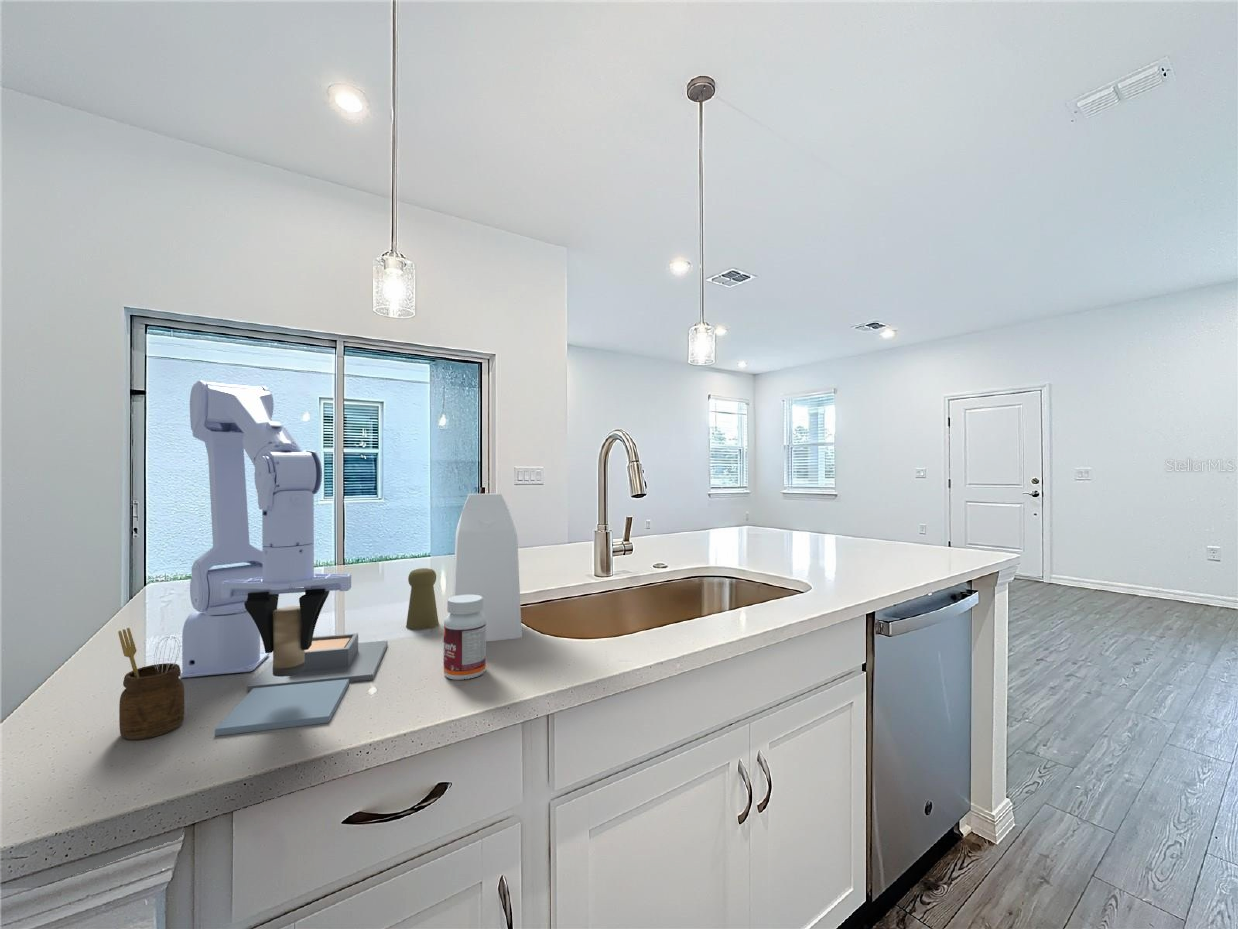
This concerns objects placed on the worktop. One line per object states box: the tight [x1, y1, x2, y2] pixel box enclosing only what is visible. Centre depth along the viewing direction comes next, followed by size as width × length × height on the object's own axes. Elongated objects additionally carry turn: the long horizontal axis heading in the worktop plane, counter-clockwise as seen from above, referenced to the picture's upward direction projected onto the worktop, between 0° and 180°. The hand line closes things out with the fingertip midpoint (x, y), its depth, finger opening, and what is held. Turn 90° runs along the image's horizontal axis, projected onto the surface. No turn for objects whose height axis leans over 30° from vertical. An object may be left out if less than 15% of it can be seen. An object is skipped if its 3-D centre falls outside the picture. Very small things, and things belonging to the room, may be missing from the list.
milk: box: [452, 492, 523, 642], centre depth 104 cm, size 12×12×26 cm
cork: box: [405, 567, 440, 631], centre depth 108 cm, size 6×6×11 cm
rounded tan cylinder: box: [272, 605, 305, 677], centre depth 71 cm, size 4×4×8 cm
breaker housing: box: [247, 632, 388, 693], centre depth 86 cm, size 16×16×4 cm
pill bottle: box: [443, 595, 487, 681], centre depth 83 cm, size 6×6×11 cm
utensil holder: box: [117, 627, 185, 741], centre depth 66 cm, size 6×6×12 cm
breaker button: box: [305, 638, 350, 651], centre depth 86 cm, size 6×6×2 cm
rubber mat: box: [214, 679, 350, 737], centre depth 71 cm, size 12×12×1 cm
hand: (288, 649), depth 71 cm, fingers closed on rounded tan cylinder, 3 cm apart
